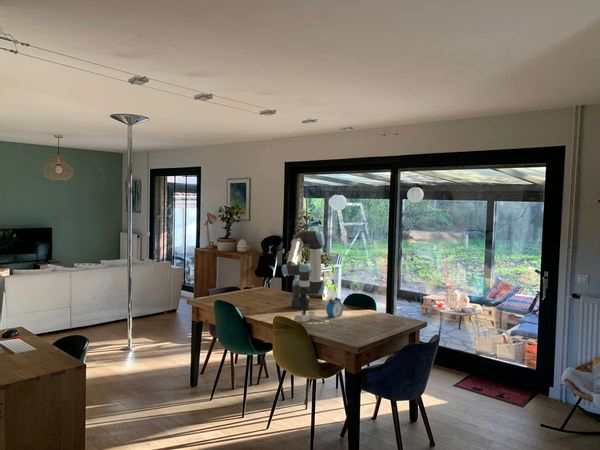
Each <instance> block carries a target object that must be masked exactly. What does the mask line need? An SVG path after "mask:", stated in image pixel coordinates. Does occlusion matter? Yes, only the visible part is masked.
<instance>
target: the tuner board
mask: <svg viewBox="0 0 600 450" xmlns="http://www.w3.org/2000/svg"><path fill="white" fill-rule="evenodd" d="M316 319H318V320H323V321H326V322H322V321H317V320H314V321H310V320H309V321H306V322H302V319H301V315H295V316H294V318H293V320H295V321H297V322H299V323H298V324H308V325H313V324H314V325H330V322H331V317H330V316H323V315H321V316H319V315H316Z"/></svg>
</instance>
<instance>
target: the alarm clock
mask: <svg viewBox="0 0 600 450" xmlns="http://www.w3.org/2000/svg"><path fill="white" fill-rule="evenodd" d="M325 311H326V315H327V317H330V318H337V317H341V316H342V314H343V313H344V312H343V311H344V305H343V303H342V300H341V298H340V297H335V298H330V299H329V300H328V302H327V305H326V309H325Z"/></svg>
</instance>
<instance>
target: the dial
mask: <svg viewBox="0 0 600 450" xmlns="http://www.w3.org/2000/svg"><path fill="white" fill-rule="evenodd" d="M316 316H317V313H316V311H314V310H308V312H307V313H306V315H302V322H306V321H309V320H310V321H314V320H317V321H322V322H326V321H323V320H318V319H316Z"/></svg>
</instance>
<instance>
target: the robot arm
mask: <svg viewBox="0 0 600 450" xmlns="http://www.w3.org/2000/svg"><path fill="white" fill-rule="evenodd" d="M290 245H291V246H290V251H289V254H288V258H287V260H286V263H285V264H283V265H282V266H281V272H282V273H281V274H282V275H285V276H298V278H295V279H294V280H293V281H292V297H291V302H290V308H291V309H292V308H293V309H300V310H301V312H300V313H301V314H300V316H301V319H302V315H306V314H307V310H308V311H309V306H310V305H309V304H310V300H311V297H310V295H311V296H323V295H324V292H325V286H326V281H325V280H324V278H323V277H322V255H321V254H322V253H321V252H322V251H321V250H322V249H323V247H324V246H325V235H324V233H323V231H322V230H320V231H319V230H301V231H299V232H297V233H296V234H295V235H294V236H293V238H292V239H291V242H290ZM303 246H307V249H308V250H309V257H310V258H309V259H310V260H309V262H310V263H309V264H307V263H300V264H298V260H299V258H300V257H299V256H300V253H301V249H302V248H303Z"/></svg>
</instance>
